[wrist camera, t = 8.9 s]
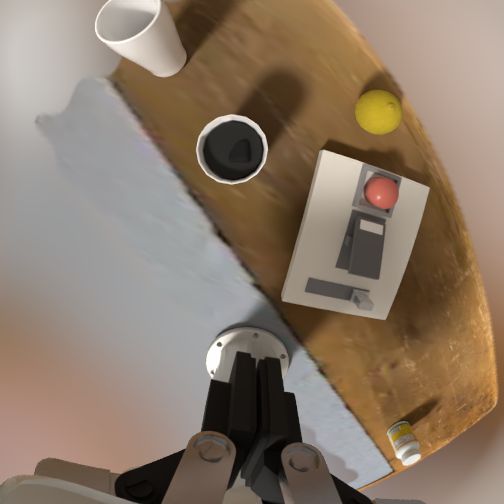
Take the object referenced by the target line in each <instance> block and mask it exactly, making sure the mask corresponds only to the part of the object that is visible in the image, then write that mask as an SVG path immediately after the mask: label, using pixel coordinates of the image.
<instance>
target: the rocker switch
mask: <svg viewBox="0 0 504 504" xmlns="http://www.w3.org/2000/svg"><path fill="white" fill-rule="evenodd" d="M385 229H386V224H383V223H379V222H376V221H373V220H369V219H366V218H363V217H359V216H358V217H356V220H355V227H354V235H353V242H352V249H351V256H350V262H349V268H348V274H352V275H356V276H361V277H365V278H370V279H374V280H379V277H380V270H381V263H382V255H383V247H384V238H385Z"/></svg>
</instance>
